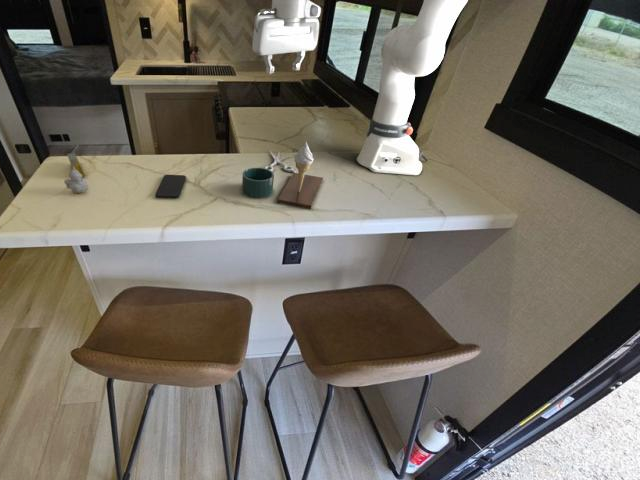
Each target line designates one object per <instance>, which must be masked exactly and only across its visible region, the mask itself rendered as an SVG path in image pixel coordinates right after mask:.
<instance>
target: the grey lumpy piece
mask: <svg viewBox="0 0 640 480" xmlns="http://www.w3.org/2000/svg"><path fill="white" fill-rule="evenodd" d="M68 177H69V179H68V178H66V179H64V181H63V183H64V184H65V185H66V189H68V190H71V192H73V193H74V194H83V193H85V192H86V191H87V190H88V188H89V184H88V183H89V182H87V180H85V179H84V178H83V176H82V174H80V173H79V172H78V171H77V170H76V169H75V168H74V166H73V168H72V169H71V171H70V172H69V174H68Z"/></svg>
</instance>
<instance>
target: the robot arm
mask: <svg viewBox="0 0 640 480" xmlns="http://www.w3.org/2000/svg"><path fill="white" fill-rule="evenodd" d="M468 2H469V0H423V3H422V6H421V8H420V10H419V13H418V15H417V17H416V20H415V22H414V23H413V24H409V23H406V24H401V25H398V26H396V27H393V28H392V29H391V30H390V31H388V33H386V35H385V36H384V38H383V41H382V43H381V47H380V49H381V51H380V52H381V60H382V61H381V62H382V63H381V69H380V70H381V73H380V80H379V81H380V82H379V89H378V90H379V91H378V95H377V100H376V103H375V107H374V111H373V115H372V117H371V118H370V120H369V124H368V126H367V130H366V137H365V141H364V143H363V146H362V148H361V150H360V152H359V154H358V156H357V157H356V161H357V163H358V164H359V165H361V166H363V167H365V168H366V169H369V170H370V171H371V172H373V173H381V174H382V173H383V174H393V175H394V174H395V175H407V176H418V175H420V174H421V172H422V170H423V164H422V162H421V161H420V159H421V158H422V159H423V160H424V161H425V162H428V161H429V158H428V157H427V156H426V155H425V154H424V152H423V151H422V150H421V151H420V149H419V147H418V145H417V144H416V143H415V141H414V140H413V138H412V137H411V135H412V133H413V131H414V129H413V127H412V125H411V123H410V122H408V118H409V115H410V113H411V110H412V108H413V107H412V106H413V104H414V101H415V96H416V92H415V91H416V90H415V78H416V77H417V78H418V77H419V78H420V77H425V76H428V75H429V74H431V73H433V72H434V71H435V70H436V69H437V68H438V67H439V65H440V64H441V62H442V61H443V59H444V55H445V51H446V42H447V40H448V38H449V35H450V33H451V30H452V29H453V26H454V24H455V22H456V20H457V18H458V17H459V15H460V13H461V11H463V8H464V7H465V6H466V5H467V3H468ZM321 13H322V7H321V6H320V5H318V4H316V3H315V2H313V1H311V0H271V8H268V9H265V8H262V9H260V10H259V11H258V13H257V14H256V15H255V16H254V17H255V18H254V28H253V36H252V44H251V48H252V49H251V50H252V52H253V54H255V55H257V56H260V57H261V56H263V57H262V59H263V61H264V65H265V67H266V68H265V73H266V74H267V75H274V74H275V66H274V65H273V64H272V61H271V60H273V55H280V54H289V53H291V54H292V53H296V59H295V61H294V62H292V65H291V66H292V68H291V69H292V71H294V72H297V71H298V72H299V71H300V70H301V64H302V62H303V60H304V58H305V56H306V52H310V51H314V50H315V49H316V47H317V45H318V39H319V33H320V21H319V17H320V16H321Z"/></svg>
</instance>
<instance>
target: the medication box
mask: <svg viewBox="0 0 640 480" xmlns="http://www.w3.org/2000/svg"><path fill="white" fill-rule="evenodd" d="M67 158H68V160H69V163H70V166H71V169H73V166H74V168H75V169H76V170H77V171H78V172H79V173H80V174H82V177H85V176H86V175H85V173H84V169H83V168H82V165H81V163H80V161H79V159H78V157H77V155H76V153H75V152H70V153H67Z"/></svg>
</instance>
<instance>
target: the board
mask: <svg viewBox="0 0 640 480" xmlns="http://www.w3.org/2000/svg"><path fill="white" fill-rule="evenodd" d="M298 173H299V172H298ZM298 173H297V172H296V173H293V172H292V175H291V176H290V178H289V180H288V181H287V183H286V184H285V187H284V188H283V190H282V192H281V194H280V195H279V197H278V199H277V204H282V205H286V206H291V207H297V208H302V209H307V210H311V209H312V207H313V205H314V202H315V200H316V197H317V195H318V193H319V190H320V188H321V186H322V183H323V181H324V177H323V176H316V175H311V174H310V175H309V174H305V175H304V179H303V182H302V186H301V190H300V192H298Z"/></svg>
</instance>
